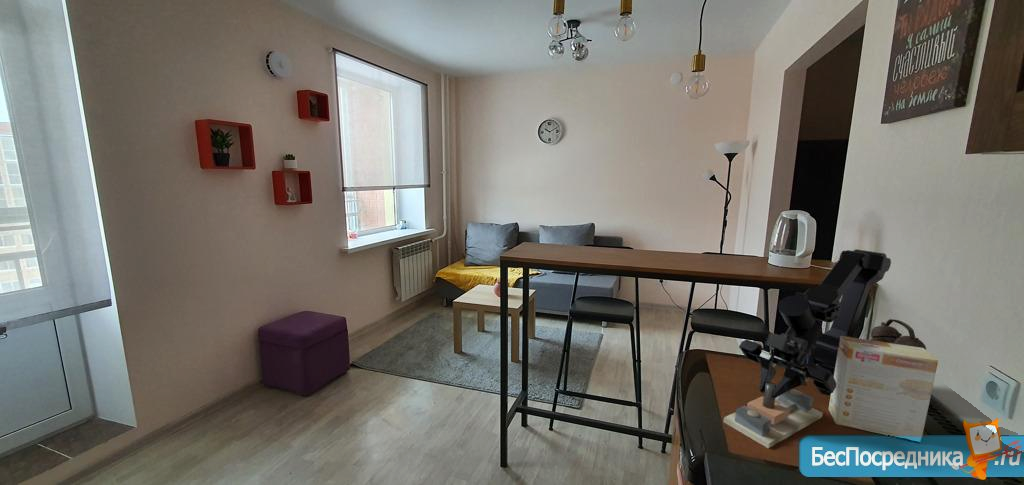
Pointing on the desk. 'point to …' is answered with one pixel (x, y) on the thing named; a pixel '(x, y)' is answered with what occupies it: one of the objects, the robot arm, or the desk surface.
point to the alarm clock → (895, 335)
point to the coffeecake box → (882, 387)
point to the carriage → (769, 405)
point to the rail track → (772, 434)
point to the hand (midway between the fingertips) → (766, 394)
